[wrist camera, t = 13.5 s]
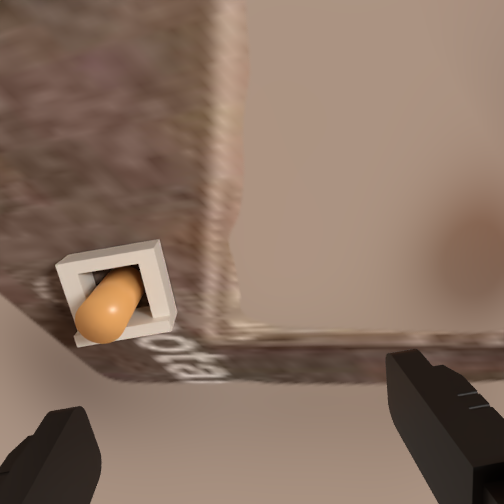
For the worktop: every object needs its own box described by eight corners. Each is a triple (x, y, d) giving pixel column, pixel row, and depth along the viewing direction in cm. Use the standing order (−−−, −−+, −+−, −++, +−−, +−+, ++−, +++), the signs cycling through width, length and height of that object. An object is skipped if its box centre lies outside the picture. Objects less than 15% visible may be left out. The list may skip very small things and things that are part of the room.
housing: (68, 254, 37) (50, 268, 33) (159, 239, 37) (151, 251, 34) (91, 326, 40) (77, 347, 36) (177, 311, 40) (171, 331, 36)
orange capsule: (100, 269, 38) (68, 303, 30) (140, 262, 38) (118, 295, 30) (111, 305, 39) (83, 347, 32) (149, 298, 39) (131, 339, 32)
